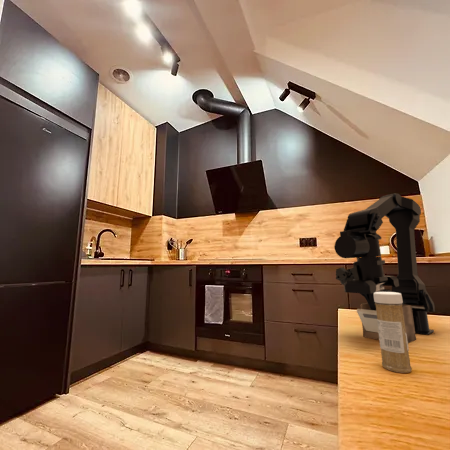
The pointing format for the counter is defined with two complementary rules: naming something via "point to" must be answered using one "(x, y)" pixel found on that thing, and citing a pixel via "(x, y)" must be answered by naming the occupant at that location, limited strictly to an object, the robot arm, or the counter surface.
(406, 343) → the sprinkles bottle
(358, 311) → the cabinet door
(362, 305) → the open wooden box
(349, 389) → the counter surface
